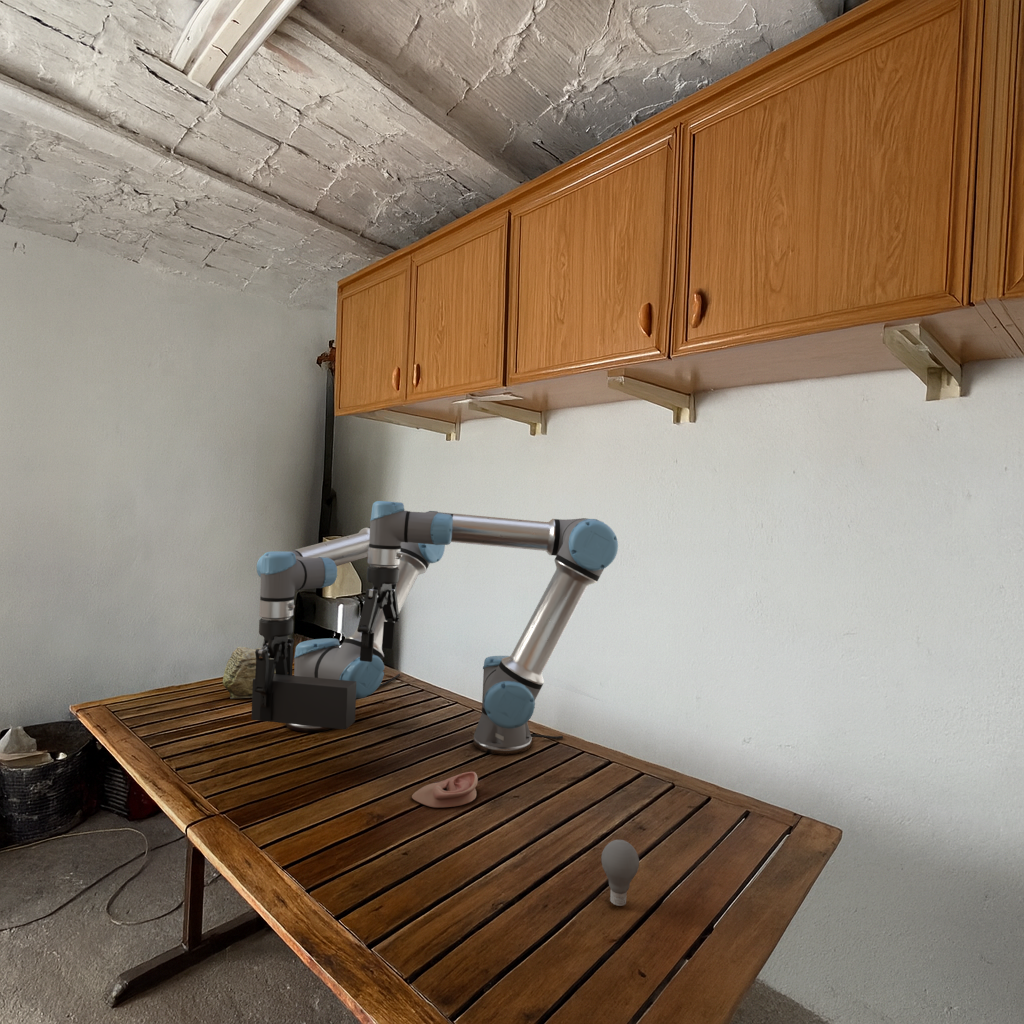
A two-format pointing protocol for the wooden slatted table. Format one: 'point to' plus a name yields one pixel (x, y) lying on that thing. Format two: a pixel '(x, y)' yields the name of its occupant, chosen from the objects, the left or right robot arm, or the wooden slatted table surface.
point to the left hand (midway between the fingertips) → (272, 715)
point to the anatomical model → (449, 791)
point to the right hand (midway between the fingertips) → (377, 654)
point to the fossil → (240, 673)
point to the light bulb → (619, 868)
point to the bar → (310, 701)
